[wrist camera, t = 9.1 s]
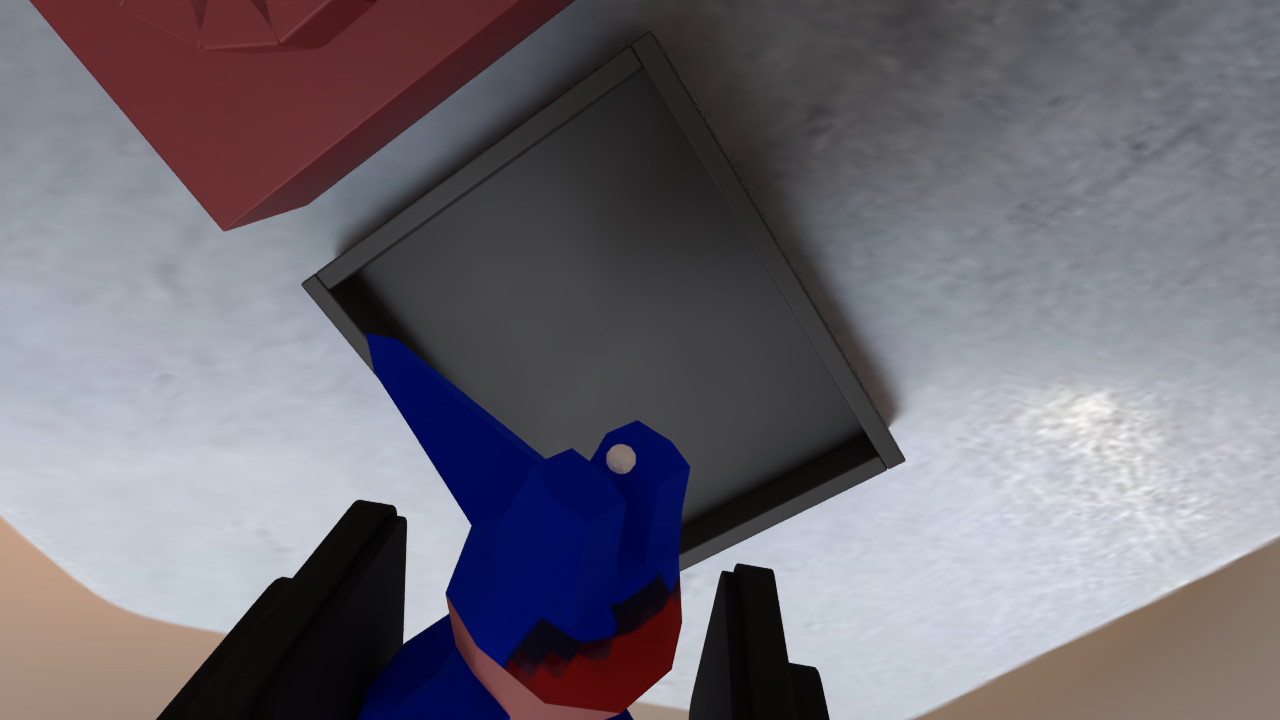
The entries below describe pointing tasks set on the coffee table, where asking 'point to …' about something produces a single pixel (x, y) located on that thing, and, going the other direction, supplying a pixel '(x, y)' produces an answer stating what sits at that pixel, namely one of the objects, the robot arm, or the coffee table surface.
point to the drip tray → (622, 304)
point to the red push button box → (282, 82)
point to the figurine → (538, 566)
